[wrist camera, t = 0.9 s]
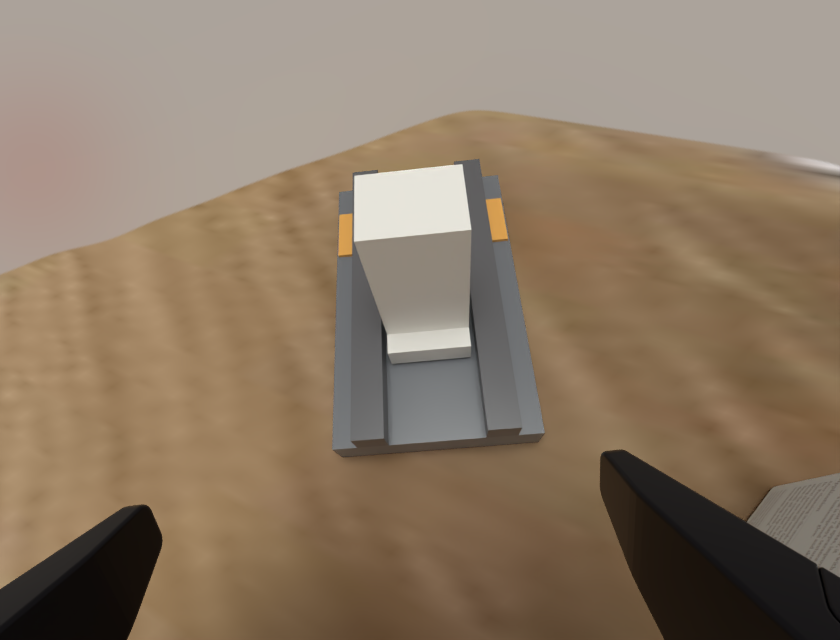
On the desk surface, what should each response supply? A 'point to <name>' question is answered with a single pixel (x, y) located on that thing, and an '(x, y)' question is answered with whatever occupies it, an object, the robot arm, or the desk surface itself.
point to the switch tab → (417, 259)
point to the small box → (805, 519)
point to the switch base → (438, 379)
